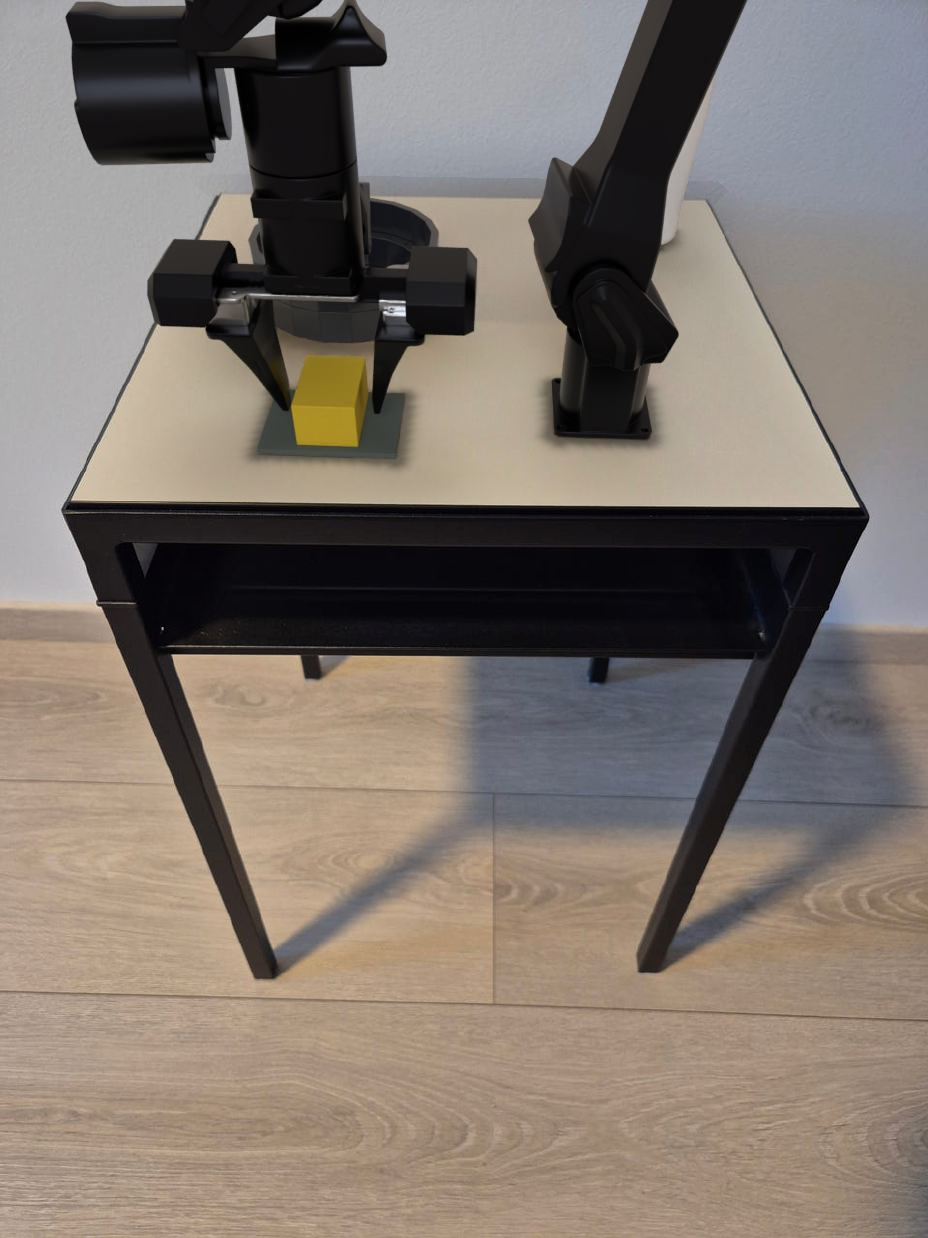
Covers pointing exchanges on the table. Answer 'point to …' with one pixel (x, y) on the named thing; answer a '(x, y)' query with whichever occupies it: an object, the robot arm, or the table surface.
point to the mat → (373, 443)
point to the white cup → (684, 170)
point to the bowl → (390, 246)
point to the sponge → (330, 401)
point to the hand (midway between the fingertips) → (332, 408)
